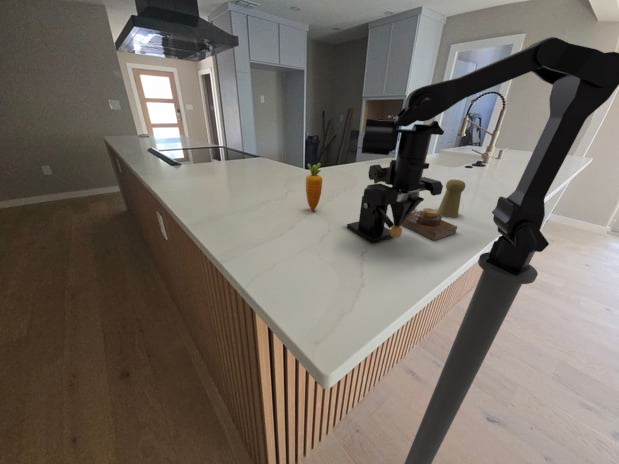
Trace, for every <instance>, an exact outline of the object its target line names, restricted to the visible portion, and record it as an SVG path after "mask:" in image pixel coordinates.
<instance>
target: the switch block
mask: <svg viewBox="0 0 619 464" xmlns="http://www.w3.org/2000/svg"><path fill="white" fill-rule="evenodd" d="M422 211H423V210H418V211H415V212H413V213H410V215H409V216H408V217H407V218H406V219H405V221H404V222H403V223H402V224H401V225H400V226H402V227H405V228H407V229H409V230H411V231H413V232H415V233H417V234H419V235H421V236H424V237H425V238H428V239H429V240H432V241H437V240H441V239H443V238H446V237H449V236H452V235H455V234H456V231H457V229H458V225H456V224H453V223H450V222H448V221H445V220H443V218H442V217H443V216H441V215H439V214H438V213H437V214H436V218H427V217H424V216H422Z"/></svg>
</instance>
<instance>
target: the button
mask: <svg viewBox="0 0 619 464" xmlns="http://www.w3.org/2000/svg"><path fill="white" fill-rule="evenodd" d="M421 211H422V216H424V217H427V218H436V214H438V213H437V211H438V210H436V209H433V208H430V207H429V208H428V207H424V208H422V210H421Z"/></svg>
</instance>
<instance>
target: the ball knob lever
mask: <svg viewBox="0 0 619 464" xmlns="http://www.w3.org/2000/svg"><path fill="white" fill-rule="evenodd" d="M381 206H382V205H379V204H377V206H376V211H377V213H378V214H379V215H380V217H381V218H382V219H383V221H384V222H385V225H386V226H387V227H388V229H389V234H390V235H391V236H392V237H393V239H395V238H399V237H401V236H402V234H403V229H402V227H401V225H400V226H395V225H394V221H392V220H391V218H390V217H389V215H388V214H386V213H385V212H384V211H383V210H382V208H381Z"/></svg>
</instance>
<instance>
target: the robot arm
mask: <svg viewBox="0 0 619 464" xmlns="http://www.w3.org/2000/svg"><path fill="white" fill-rule="evenodd" d="M528 73H532V74H534V75H535V76H536V77H538V78H539V79H540V80H541V81H543V82H545V83H547V84H549V85H551V86H552V87H551V91H550V94H549V100H548V101H549V117H548V120H547V121H546V123H545V126H544V128H543V130H542V132H541V134H540V136H539V139H538V141H537V143H536V145H535V147H534V150H533V151H532V154H531V156H530V157H529V160H528V162H527V164H526V167H525V169H524V171H523V173H522V175H521V177H520V180H519V181H518V184H517V186H516V188H515V190H514V191H513V192H512V193H511V194H510V195H508V196H507V197H504V196H502V195H501V196H499V197H498V199H497V202H496V206H495V208H494V209H493V210H492V211H491V214H492V215H493V217H492V221H493V222H494V224H495V226H497V232H498V234H500V235H499V236H498V237H497V240H494V241H493V244H492V246H491V249H490V251H489V252H490V253H489V257H490V258H488V259H486V262H488V263H490V264H492V265H494V266H496V267H498V268H501V269H503V270H505V271H507V272H509V273H511V274H513V275H516V276H517V275H519V274H521V273H523V272H525V271H526V270H528V269H530V266H529V264H531V261H532V259H533V257H534V255H535V253H541V252H543V251H544V250H545V249H546V248H548V247H549V245H550V243H549V241H548V240H547V239H546V237H545V235H544V234H543V233H542V231H541V228H542V226H543V222H544V219H545V216H546V210H545V200H546V199H545V198H546V196H547V194H548V192H549V190H550V188H551V187H552V184H553V183H554V181H555V179H556V178H557V175H558V173H559V171H560V169H561V168H562V166H563V164H564V162H565V160H566V158H567V156H568V154H569V152H570V151H571V149H572V147H573V144H574V143H575V141H576V139H577V137H578V135H579V133H580V132H581V130H582V128H583V126H584V124H585V122H586V121H587V119H588V118H589V117H590V116H591V115H592V114H593V113H595V111H597V110H598V109H599V108H600V107H601V106H602V105H604V104H605V103H606V102H607V101H608V100H609V99H610V98H611V97H612V95H613V93H614V92H615V91H616V89H617V88H618V87H619V52H617V51H607V52H604V51H601V50H599V49H597V48H593V47H588V46H583V45H579V44H574V43H570V42H567V41H565V40H564V39H561V38H558V37H556V36H550V37H546V38H544V39H541V40H539V41H537V42H534V43H531V44H530V45H529V46H527V47H526V48H524V49H521V50H520V51H517V52H515V53H513V54H510V55H508V56H505V57H503V58H501V59H499V60H497V61H494V62H492V63H489V64H487V65H483V66H482V67H479V68H478V69H477V68H476V69H475V70H472V71H471V72H469V73H468V72H467V73H466V74H464V75H461V76H459V77H456V78H452V79H448V80H443V81H439V82H436V83H431V84H428V85H425V86H421V87H418V88H416V89H414V90H412V91H411V92H410V93H409V94H408V95H407V97H406V99H405V102H404V106H403V108H402V109H401V111H400V112H399V113H397V115H395V117H394V118H393V119H392V120H385V119H375V118H366V120H365V127H364V133H363V137H362V145H361V155H362V154H363V155H376V156H377V155H379V156H380V155H381V156H389V155H390V153H391V152H393V151H396V149H397V154H396V158H395V159H391V161H390V162H389V166H387V167H382V166H381V164H372V165H369V169H368V174H367V175H368V179H369V181H373V183H372V184H368V185H366V186H365V187H364V188H363V189H364V190H363V195H362V196H363V198H365V199H368V200H370V201H372V202H374V203H377V204H379V205H383V206H385V205H388V206H390V210H391V214H392V219H393V224H394V225H395V226H400V227H401V226H402V225H401V224H402V223H403V222H404V221H405V219H406V218H407V217H408V216H409V215H410V214H411V212H412V211H413V210H414V209H415V208H418V206H419V205H420V204H421V203H422V202H424V200H425V198H423V197H421V196H420V192H423V191H428V192H429V194H430V195H431V196H435V197H436V196H439V195H442V191H443V188H444V186H443V183H442V182H441V181H440V180H437V179H433V178H429V177H426V176H423V174H424V170H428V169H430V163H429V162H426V161H427V157H428V152H429V148H430V145H431V144H430V143H431V139H432V135H434V136H435V135H436V136H437V135H439V136H441V135H444V134H445V131H444V129H442V128H441V126H440V124H439V121H438V120H432V119H434V118H435V117H437V116H439V115H441V114H442V113H445V112H446V111H448V110H449V109H450V108H453V106H455V105H456V104H458V103H460V102H461V101H462V100H465V99H467V98H469V97H471V96H474V95H476V94H479V93H481V92H484V91H486V90H489V89H491V88H494V87H496V86H499V85H502V84H504V83H506V82H509V81H511V80H513V79H516V78H519V77H522V76H523V75H526V74H528ZM430 120H432V122H430V123H429V124H421V123H415V122H417V121H418V122H427V121H430ZM411 125H413V126H412V128H411V129H410V128H397V127H409V126H411ZM399 134H400V136H399ZM398 137H399V142H398ZM397 144H398V147H397ZM419 191H420V192H419ZM415 210H416V209H415Z"/></svg>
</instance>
